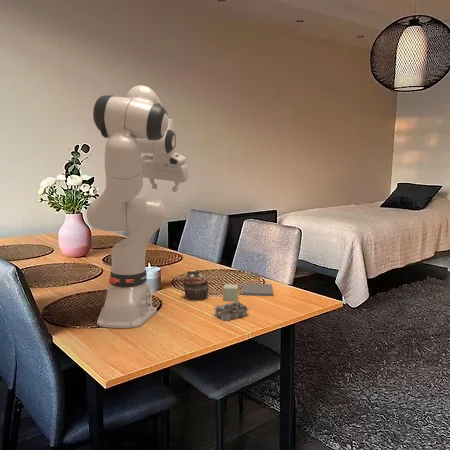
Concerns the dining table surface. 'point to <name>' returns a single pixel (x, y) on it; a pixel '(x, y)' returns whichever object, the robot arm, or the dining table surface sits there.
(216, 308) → the egg carton
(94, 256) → the dining table surface
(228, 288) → the cube
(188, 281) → the cupcake
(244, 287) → the slate plate
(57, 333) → the dining table surface
